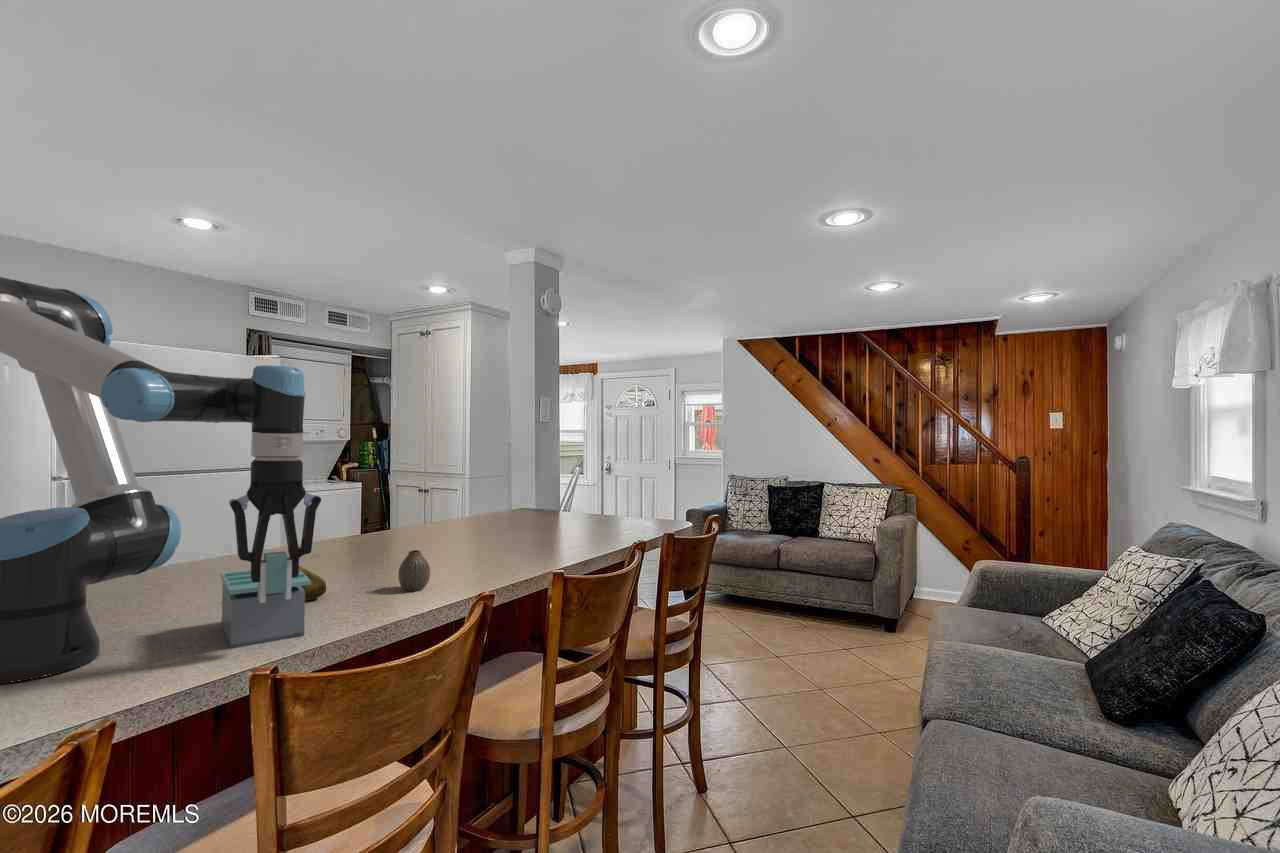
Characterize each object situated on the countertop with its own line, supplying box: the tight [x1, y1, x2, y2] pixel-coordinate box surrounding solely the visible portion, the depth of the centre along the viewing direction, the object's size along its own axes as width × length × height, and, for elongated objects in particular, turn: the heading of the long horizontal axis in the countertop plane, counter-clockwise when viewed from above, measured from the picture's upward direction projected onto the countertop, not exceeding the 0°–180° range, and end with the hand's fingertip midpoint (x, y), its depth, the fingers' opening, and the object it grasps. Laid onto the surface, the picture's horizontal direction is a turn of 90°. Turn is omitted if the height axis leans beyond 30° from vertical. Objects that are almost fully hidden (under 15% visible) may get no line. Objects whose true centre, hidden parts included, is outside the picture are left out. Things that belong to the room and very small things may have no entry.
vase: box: [397, 549, 431, 592], centre depth 143 cm, size 7×7×9 cm
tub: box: [221, 582, 306, 648], centre depth 113 cm, size 11×15×8 cm
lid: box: [219, 550, 311, 595], centre depth 110 cm, size 12×20×7 cm, turn 39°
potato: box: [299, 566, 327, 602], centre depth 133 cm, size 8×13×8 cm, turn 71°
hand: (274, 598), depth 104 cm, fingers closed on lid, 3 cm apart
